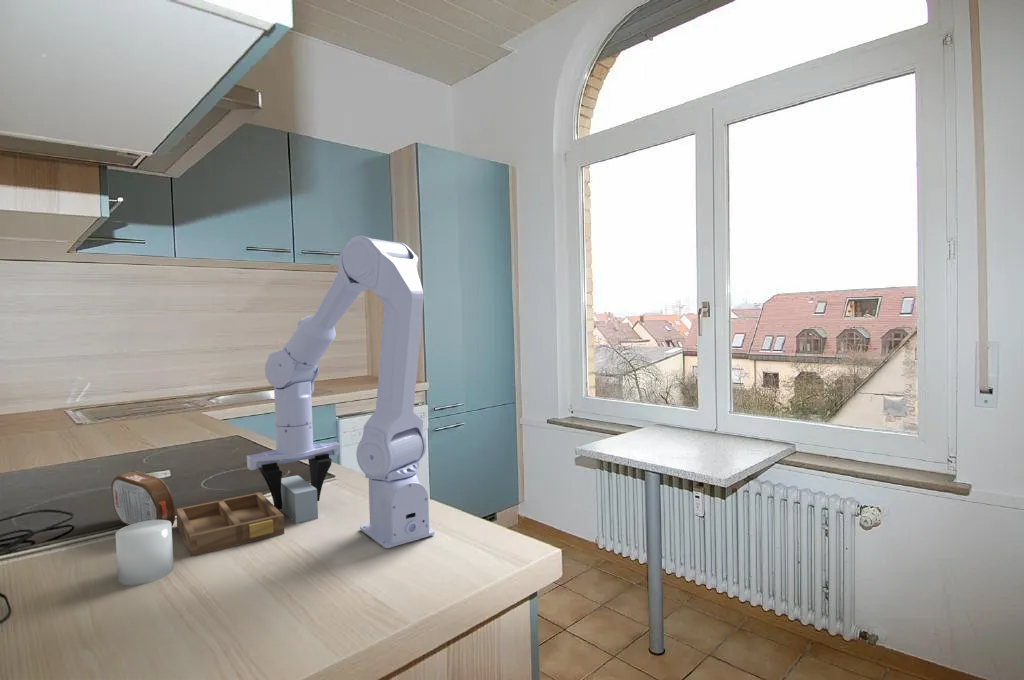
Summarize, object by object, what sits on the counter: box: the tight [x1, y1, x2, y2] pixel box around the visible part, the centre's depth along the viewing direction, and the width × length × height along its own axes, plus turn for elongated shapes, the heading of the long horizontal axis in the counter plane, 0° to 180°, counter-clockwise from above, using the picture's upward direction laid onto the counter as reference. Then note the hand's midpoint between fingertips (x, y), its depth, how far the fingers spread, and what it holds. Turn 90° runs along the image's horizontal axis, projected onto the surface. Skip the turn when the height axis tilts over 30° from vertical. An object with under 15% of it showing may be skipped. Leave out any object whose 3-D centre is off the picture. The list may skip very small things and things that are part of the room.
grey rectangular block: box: [280, 475, 319, 525], centre depth 93 cm, size 10×4×5 cm, turn 38°
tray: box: [175, 491, 285, 557], centre depth 86 cm, size 15×12×3 cm
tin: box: [110, 470, 176, 527], centre depth 87 cm, size 15×3×8 cm, turn 58°
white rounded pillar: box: [115, 520, 175, 586], centre depth 72 cm, size 6×6×6 cm
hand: (297, 503), depth 93 cm, fingers open, 5 cm apart
